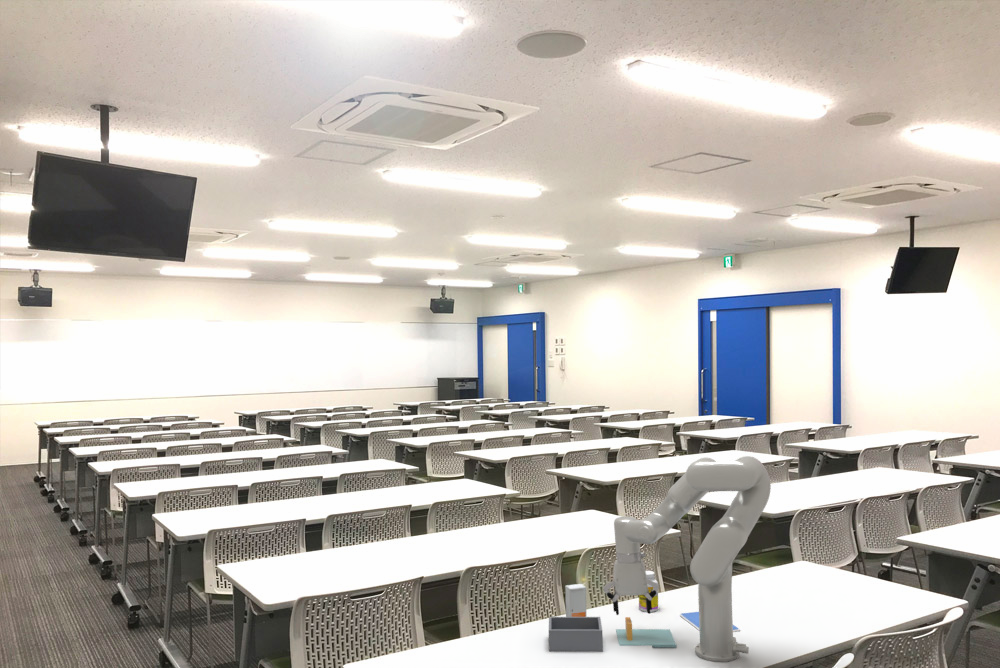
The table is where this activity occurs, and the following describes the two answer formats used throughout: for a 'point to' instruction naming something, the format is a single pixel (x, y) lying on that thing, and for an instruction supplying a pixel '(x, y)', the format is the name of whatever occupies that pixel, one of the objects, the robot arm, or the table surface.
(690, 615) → the tablet computer
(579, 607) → the skincare box
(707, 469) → the robot arm
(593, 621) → the tub
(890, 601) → the table surface
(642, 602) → the supplement bottle
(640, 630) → the lid
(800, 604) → the table surface
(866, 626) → the table surface
